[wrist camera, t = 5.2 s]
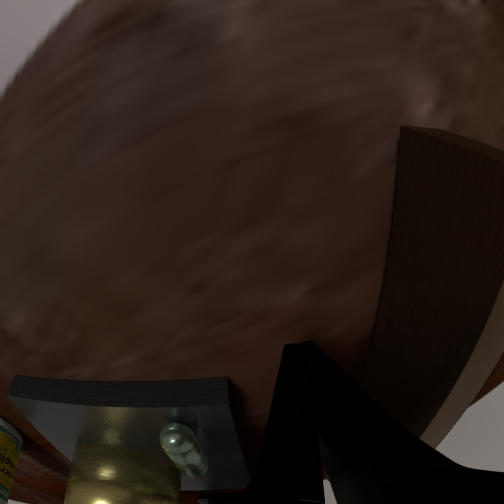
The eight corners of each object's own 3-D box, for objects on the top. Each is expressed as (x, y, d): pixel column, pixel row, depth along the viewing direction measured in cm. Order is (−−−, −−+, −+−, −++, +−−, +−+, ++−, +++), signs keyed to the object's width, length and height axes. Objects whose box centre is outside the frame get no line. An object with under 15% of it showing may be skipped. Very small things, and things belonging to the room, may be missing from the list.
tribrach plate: (249, 470, 19) (258, 546, 13) (100, 467, 18) (91, 535, 13) (227, 376, 13) (237, 516, 7) (15, 375, 12) (-22, 470, 7)
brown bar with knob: (382, 436, 18) (404, 495, 13) (314, 453, 17) (329, 518, 13) (472, 132, 8) (587, 181, 4) (347, 123, 8) (472, 171, 4)
